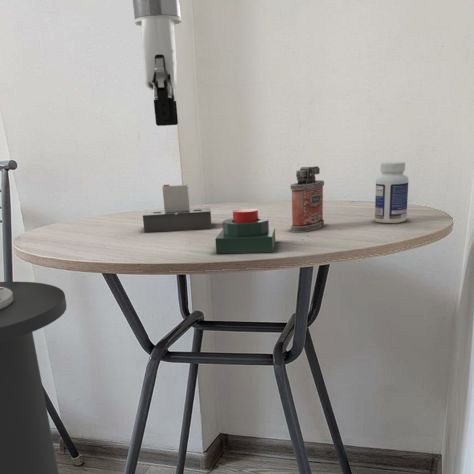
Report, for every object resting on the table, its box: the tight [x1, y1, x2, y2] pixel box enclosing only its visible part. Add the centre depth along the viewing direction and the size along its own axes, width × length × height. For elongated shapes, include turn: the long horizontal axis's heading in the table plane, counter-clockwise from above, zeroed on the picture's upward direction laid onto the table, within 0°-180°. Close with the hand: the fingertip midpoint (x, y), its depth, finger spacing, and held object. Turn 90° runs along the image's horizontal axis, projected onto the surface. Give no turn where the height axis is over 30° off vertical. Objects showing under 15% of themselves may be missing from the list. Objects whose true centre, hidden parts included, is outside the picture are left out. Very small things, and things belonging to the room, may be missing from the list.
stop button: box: [232, 208, 259, 223], centre depth 84 cm, size 4×4×2 cm
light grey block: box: [161, 183, 191, 212], centre depth 105 cm, size 4×2×5 cm, turn 93°
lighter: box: [290, 165, 325, 233], centre depth 98 cm, size 8×3×10 cm, turn 143°
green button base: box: [215, 216, 276, 255], centre depth 85 cm, size 8×8×4 cm
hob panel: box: [142, 207, 212, 233], centre depth 106 cm, size 9×12×3 cm
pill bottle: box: [374, 161, 409, 224], centre depth 100 cm, size 5×5×10 cm
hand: (167, 125), depth 101 cm, fingers open, 9 cm apart
